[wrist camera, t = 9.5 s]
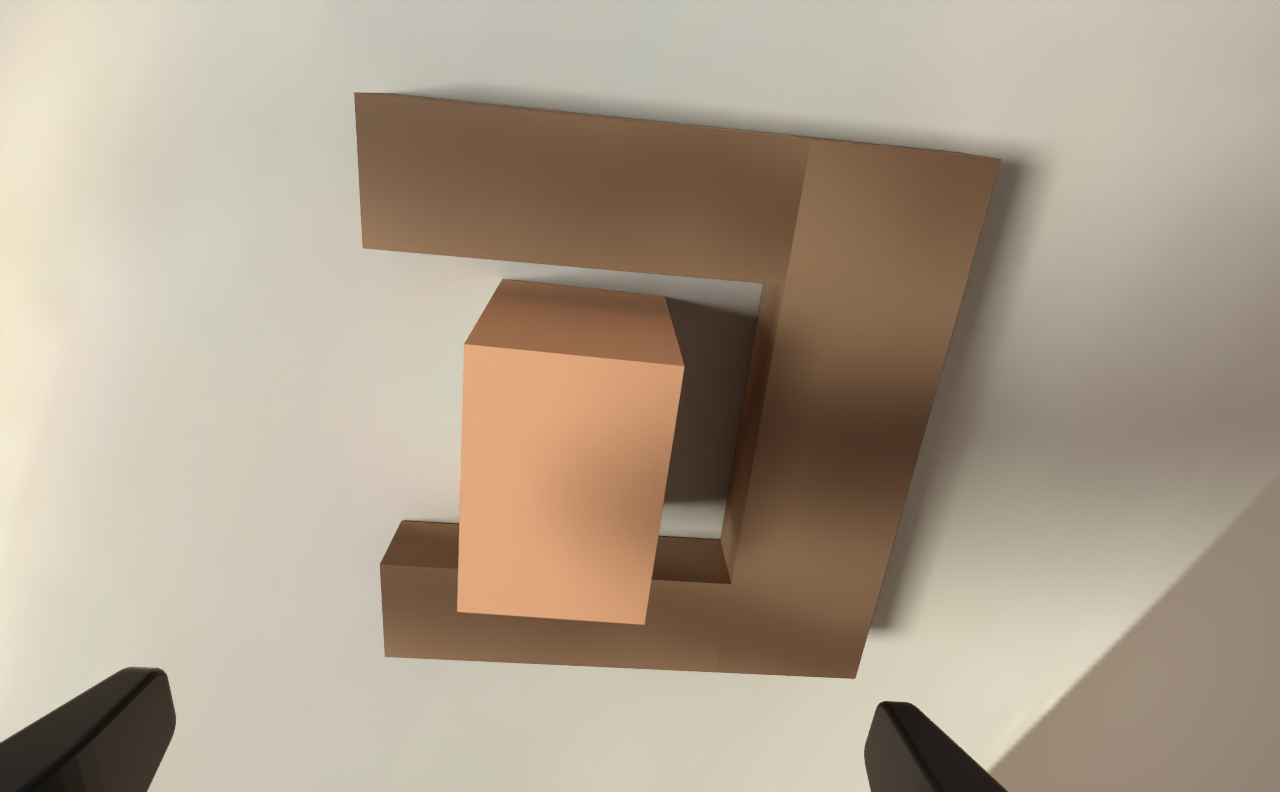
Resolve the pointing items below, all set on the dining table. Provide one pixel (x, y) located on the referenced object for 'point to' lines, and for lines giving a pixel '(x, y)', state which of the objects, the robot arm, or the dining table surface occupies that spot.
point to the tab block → (565, 451)
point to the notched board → (778, 373)
